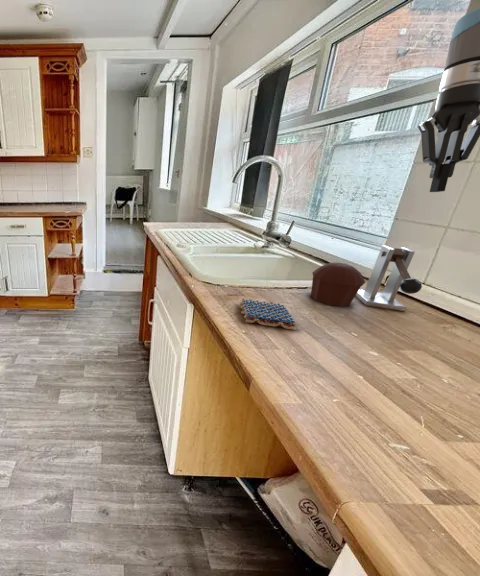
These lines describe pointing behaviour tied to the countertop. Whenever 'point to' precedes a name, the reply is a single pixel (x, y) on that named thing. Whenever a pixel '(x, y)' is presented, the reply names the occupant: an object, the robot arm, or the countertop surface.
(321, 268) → the muffin
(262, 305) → the woven mat
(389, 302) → the silver metal stand
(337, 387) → the countertop surface
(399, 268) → the arm
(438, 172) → the robot arm
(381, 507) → the countertop surface
